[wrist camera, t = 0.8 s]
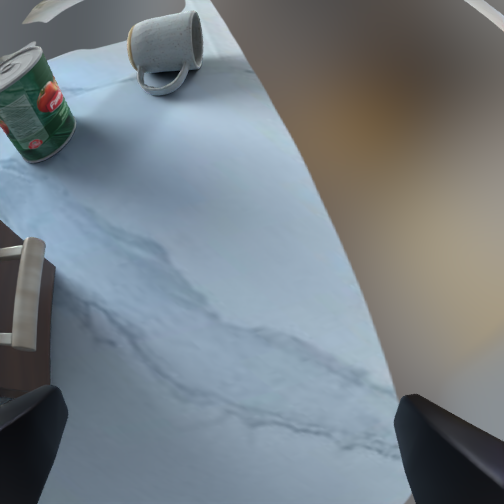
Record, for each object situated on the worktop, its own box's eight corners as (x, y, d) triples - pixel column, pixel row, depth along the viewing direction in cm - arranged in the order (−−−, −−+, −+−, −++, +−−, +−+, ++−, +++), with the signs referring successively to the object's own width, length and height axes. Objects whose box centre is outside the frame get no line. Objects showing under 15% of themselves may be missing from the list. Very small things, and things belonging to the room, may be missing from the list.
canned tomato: (87, 128, 31) (51, 52, 21) (33, 174, 29) (-17, 105, 19) (62, 106, 33) (31, 41, 23) (15, 145, 31) (-25, 85, 21)
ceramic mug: (146, 56, 37) (135, 11, 30) (205, 49, 37) (199, 1, 30) (127, 103, 33) (109, 51, 26) (196, 96, 33) (188, 39, 26)
